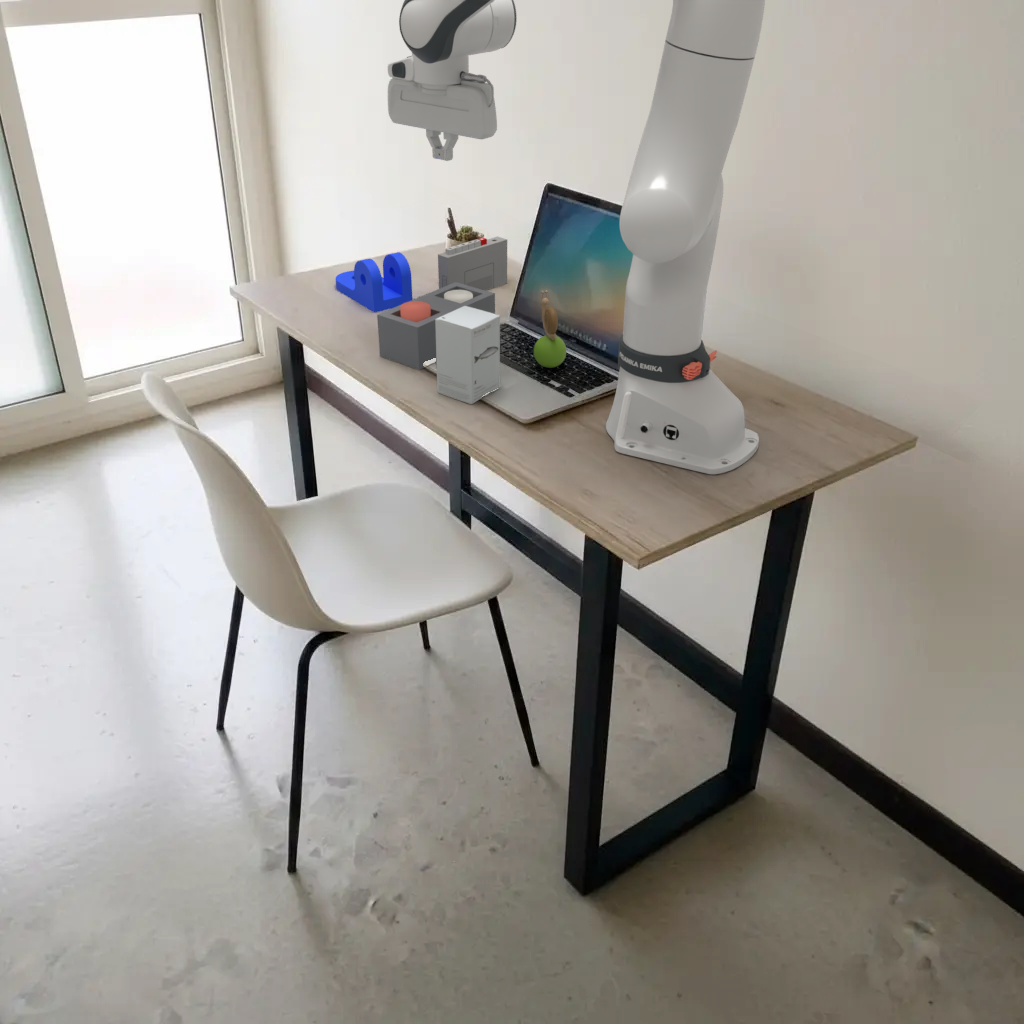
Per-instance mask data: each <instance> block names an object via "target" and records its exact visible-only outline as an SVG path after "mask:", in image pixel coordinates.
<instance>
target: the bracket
mask: <svg viewBox="0 0 1024 1024" xmlns="http://www.w3.org/2000/svg"><path fill="white" fill-rule="evenodd" d="M382 272H383V273H381V270H380V268H379V266H378V264H377V262H376V261H375V260H373V259H372V258H366V259H365V258H364V259H361V260H357V261H356V262H355V264H354V267H353V270H348V271H344V272H341V273H339V274H337V275H336V276H335V288H336V290H337V291H338V292H340V293H341V294H343V295H344V296H346V297H347V298H350V299H351V300H353V301H354V302H355V303H356V302H357V304H358V305H361V306H362V307H364V308H365V309H368V310H370V311H371V312H372V313H379V312H382V311H383V312H384V311H387V310H389V309H392V308H394V307H397V306H399V305H401V304H403V303H406V302H409V301H411V300H413V286H412V285H413V283H412V282H413V281H412V270H411V266H410V263H409V262H408V259H407V258H406V256H405V255H404V254H403V253H402V252H398V251H397V252H394V253H393V252H392V253H388V254H386V255H385V256H384V257H383V261H382ZM382 274H383V276H382Z"/></svg>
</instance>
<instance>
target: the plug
mask: <svg viewBox="0 0 1024 1024" xmlns="http://www.w3.org/2000/svg"><path fill="white" fill-rule="evenodd" d="M472 298H473V294H472V293H471V292H470V291H466V290H451V291H448V292H446V293H445V294H444V299H447V300H450V301H454V302H457V303H463V302H465V301H467V300H470V299H472Z"/></svg>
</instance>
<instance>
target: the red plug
mask: <svg viewBox="0 0 1024 1024" xmlns="http://www.w3.org/2000/svg"><path fill="white" fill-rule="evenodd" d="M400 312H401V318H404V319H407V320H410V321H413V322H419V321H422V320H424V319H426V318H428V317H431V308H430V304H428V303H426V302H422V301H411V302H406V303H403V304H402V305H401V306H400Z"/></svg>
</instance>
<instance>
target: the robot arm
mask: <svg viewBox="0 0 1024 1024" xmlns="http://www.w3.org/2000/svg"><path fill="white" fill-rule="evenodd" d="M765 5H766V0H672V9H671V14H670V20H669V23H668V28H667V31H666V35H665V36H666V37H665V41H664V45H663V51H662V55H661V59H660V60H661V61H660V64H659V69H658V74H657V80H656V84H655V88H654V93H653V97H652V101H651V106H650V109H649V114H648V116H647V120H646V123H645V125H644V129H643V132H642V136H641V139H640V142H639V144H638V148H637V152H636V155H635V158H634V163H633V166H632V169H631V174H630V176H629V181H628V184H627V187H626V191H625V195H624V199H623V203H622V206H621V210H620V215H619V232H620V237H621V239H622V241H623V243H624V244H625V246H626V248H627V250H628V251H630V252H631V253H632V260H631V264H630V269H629V274H628V276H627V280H626V286H625V299H624V313H623V314H624V315H623V316H624V317H623V318H624V319H623V329H622V330H623V331H622V334H621V336H620V337H619V338H620V339H619V342H618V343H619V344H618V354H617V355H618V357H617V365H618V366H617V367H618V371H619V372H618V378H617V379H618V380H617V386H616V391H615V395H614V400H613V402H612V406H611V410H610V413H609V416H608V417H607V419H606V420H607V421H606V423H605V430H606V432H607V434H608V436H610V437H611V439H612V440H613V445H614V450H615V451H616V452H618V453H620V454H623V455H627V456H631V457H637V458H641V459H644V460H648V461H653V462H657V463H662V464H666V465H669V466H674V467H677V468H682V469H686V470H691V471H694V472H698V473H702V474H703V473H704V474H707V475H718V474H724V473H727V472H730V471H733V470H734V469H737V468H738V467H740V466H741V465H743V464H744V463H746V462H748V461H749V460H750V459H751V458H752V457H753V456H754V455H755V454H756V452H757V451H758V449H759V444H760V438H759V433H757V432H755V431H754V430H751V429H749V428H746V417H745V416H746V414H745V409H744V408H745V407H744V405H743V403H742V402H741V400H740V399H739V398H738V397H737V396H736V394H734V393H733V392H732V391H731V390H730V389H729V388H728V387H727V386H726V384H724V383H723V381H721V379H720V378H719V377H718V376H717V375H716V374H715V373H714V372H713V371H712V370H711V362H713V361H714V360H715V359H716V358H717V355H716V354H717V353H718V351H717V350H713V351H712V352H710V354H708V351H707V350H706V347H705V344H704V341H703V339H702V337H703V327H704V318H705V311H706V301H707V300H706V299H707V292H708V286H709V280H710V277H711V276H710V275H711V270H712V264H713V258H714V254H715V247H716V241H717V236H718V229H719V223H720V218H721V212H722V204H723V197H724V180H723V174H722V172H723V169H724V166H725V163H726V161H727V157H728V155H729V150H730V148H731V144H732V142H733V137H734V136H735V132H736V130H737V127H738V124H739V120H740V116H741V112H742V109H743V108H742V107H743V105H744V100H745V96H746V93H747V88H748V85H749V81H750V78H751V73H752V69H753V66H754V62H755V58H756V54H757V50H758V49H757V48H758V47H759V42H760V41H759V40H760V37H761V31H762V26H763V20H764V19H763V18H764V13H765ZM399 12H400V13H399V18H398V24H399V25H398V26H399V31H400V35H401V38H402V41H403V42H404V44H405V46H406V47H407V48H408V50H409V51H410V52H411V55H409V56H406V58H402V59H399V60H395V61H392V62H390V63H388V64H387V74H388V76H389V77H390V78H391V79H390V80H389V81H388V84H387V110H388V116H389V118H390V120H391V122H392V123H393V124H396V125H402V126H406V127H407V126H408V127H413V128H419V129H424V130H425V135H426V138H427V140H428V142H429V144H430V147H431V148H432V158H433V159H435V160H441V161H444V162H445V161H446V162H449V161H453V158H454V147H455V145H456V144H457V142H458V140H459V136H460V137H461V136H462V137H466V138H472V139H475V140H485V139H488V138H492V137H493V136H494V135H495V134H496V132H497V130H498V119H497V111H496V110H497V107H496V102H495V93H494V92H495V91H494V89H495V88H494V85H493V84H492V82H491V80H489V79H488V78H487V76H486V75H483V74H474V73H471V72H469V70H470V69H469V67H470V66H469V59H470V58H469V56H472V55H473V56H474V55H478V54H479V55H480V54H486V53H492V52H495V51H498V50H500V49H504V48H505V47H506V46H508V44H509V43H510V42H511V40H512V39H513V36H514V35H515V31H516V28H517V9H516V5H515V1H514V0H404V1H403V3H402V7H401V10H400V11H399ZM442 133H443V140H445V143H444V145H443V144H442V141H441V138H440V135H442Z"/></svg>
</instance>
